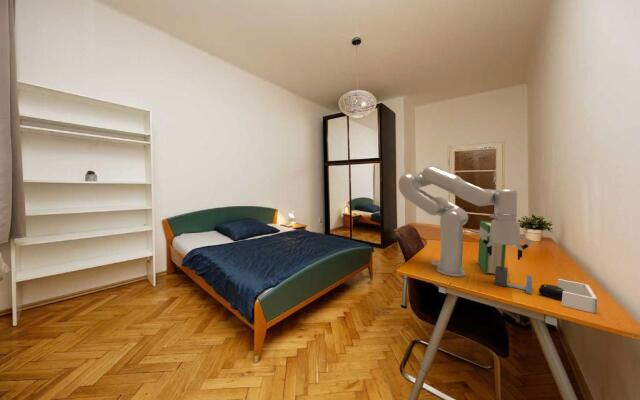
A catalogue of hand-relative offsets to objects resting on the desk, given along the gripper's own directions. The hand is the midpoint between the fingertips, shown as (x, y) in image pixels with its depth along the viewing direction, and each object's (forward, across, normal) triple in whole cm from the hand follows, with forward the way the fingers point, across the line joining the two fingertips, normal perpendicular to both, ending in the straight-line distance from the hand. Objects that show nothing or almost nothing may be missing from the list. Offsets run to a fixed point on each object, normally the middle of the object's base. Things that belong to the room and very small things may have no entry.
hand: (504, 257), depth 100 cm
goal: (+13, +21, 0) cm, 25 cm away
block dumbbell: (+12, +3, 0) cm, 13 cm away
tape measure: (+13, +15, -1) cm, 20 cm away
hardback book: (+12, -7, +19) cm, 24 cm away
